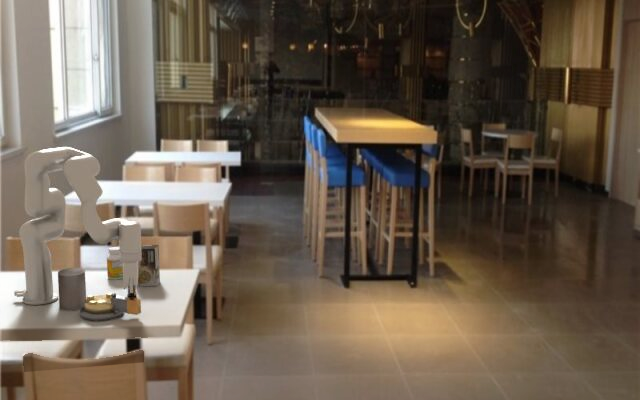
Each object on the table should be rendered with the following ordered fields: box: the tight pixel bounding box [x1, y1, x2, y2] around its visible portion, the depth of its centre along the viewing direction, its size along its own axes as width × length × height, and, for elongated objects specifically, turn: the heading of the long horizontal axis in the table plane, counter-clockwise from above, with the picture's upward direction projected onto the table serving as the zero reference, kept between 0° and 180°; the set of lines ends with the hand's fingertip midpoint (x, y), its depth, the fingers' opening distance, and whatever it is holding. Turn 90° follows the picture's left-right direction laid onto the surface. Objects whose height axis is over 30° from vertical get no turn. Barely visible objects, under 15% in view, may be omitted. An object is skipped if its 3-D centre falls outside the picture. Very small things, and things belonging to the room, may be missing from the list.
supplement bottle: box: [106, 246, 123, 281], centre depth 302 cm, size 7×7×13 cm
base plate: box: [79, 307, 124, 323], centre depth 258 cm, size 15×15×2 cm
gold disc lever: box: [84, 292, 142, 316], centre depth 256 cm, size 22×12×6 cm, turn 69°
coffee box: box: [137, 244, 161, 287], centre depth 293 cm, size 9×6×16 cm
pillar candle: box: [57, 267, 87, 312], centre depth 265 cm, size 10×10×15 cm
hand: (132, 304), depth 257 cm, fingers closed
